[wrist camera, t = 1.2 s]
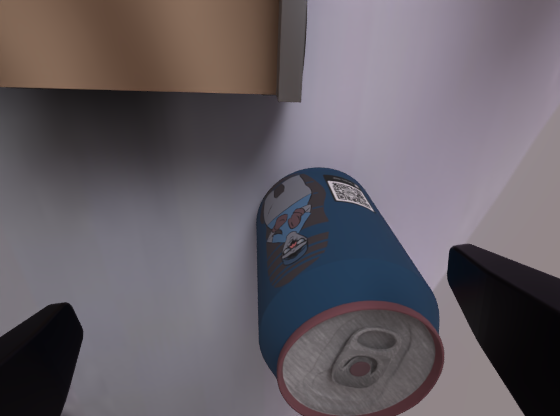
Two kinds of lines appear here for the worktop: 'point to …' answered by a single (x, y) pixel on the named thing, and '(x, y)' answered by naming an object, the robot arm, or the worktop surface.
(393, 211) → the worktop surface
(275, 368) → the soda can
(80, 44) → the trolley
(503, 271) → the robot arm
